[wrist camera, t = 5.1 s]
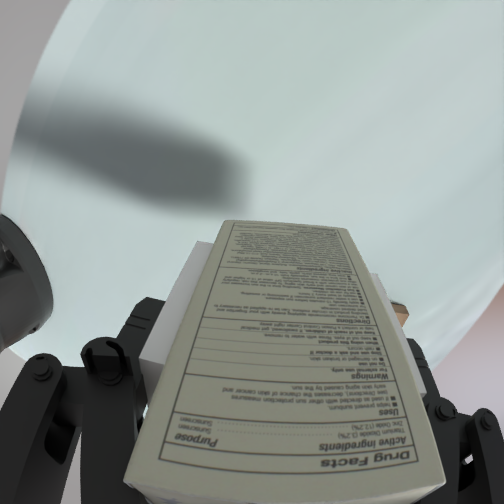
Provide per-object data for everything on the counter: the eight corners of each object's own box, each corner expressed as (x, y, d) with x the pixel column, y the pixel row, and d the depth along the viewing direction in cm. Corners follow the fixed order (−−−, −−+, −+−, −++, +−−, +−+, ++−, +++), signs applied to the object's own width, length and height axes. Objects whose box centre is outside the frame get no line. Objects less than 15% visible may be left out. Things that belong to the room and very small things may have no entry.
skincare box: (224, 290, 16) (161, 518, 6) (223, 213, 14) (106, 477, 4) (338, 298, 16) (373, 528, 5) (354, 223, 14) (454, 485, 3)
